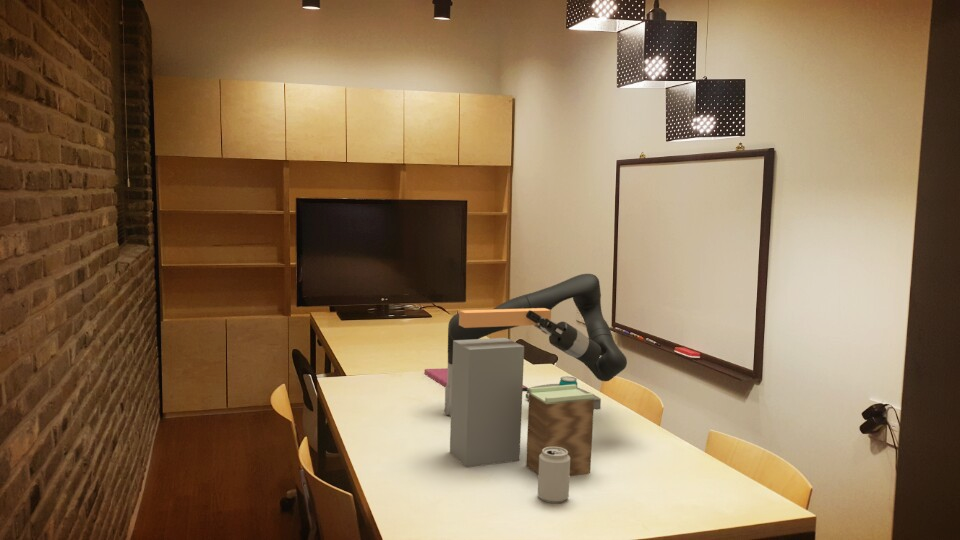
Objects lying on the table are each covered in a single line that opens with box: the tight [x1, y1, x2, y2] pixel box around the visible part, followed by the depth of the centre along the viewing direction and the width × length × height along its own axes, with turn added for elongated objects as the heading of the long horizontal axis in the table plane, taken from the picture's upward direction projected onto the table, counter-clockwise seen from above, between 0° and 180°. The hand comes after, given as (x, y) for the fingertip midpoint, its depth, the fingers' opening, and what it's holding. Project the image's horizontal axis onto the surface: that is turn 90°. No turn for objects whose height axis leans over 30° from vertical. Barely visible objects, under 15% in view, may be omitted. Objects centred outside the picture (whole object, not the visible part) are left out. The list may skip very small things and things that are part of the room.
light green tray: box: [525, 383, 602, 410], centre depth 258 cm, size 19×22×5 cm
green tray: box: [528, 384, 595, 404], centre depth 195 cm, size 14×10×2 cm
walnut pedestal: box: [525, 394, 595, 477], centre depth 196 cm, size 14×10×20 cm
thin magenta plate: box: [424, 367, 528, 392], centre depth 281 cm, size 40×4×27 cm
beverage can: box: [558, 376, 578, 386], centre depth 235 cm, size 6×6×15 cm
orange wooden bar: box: [458, 308, 552, 328], centre depth 202 cm, size 26×4×4 cm, turn 113°
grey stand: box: [449, 337, 525, 468], centre depth 203 cm, size 16×12×32 cm
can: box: [537, 447, 570, 504], centre depth 178 cm, size 8×8×12 cm
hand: (524, 312), depth 204 cm, fingers closed on orange wooden bar, 4 cm apart
